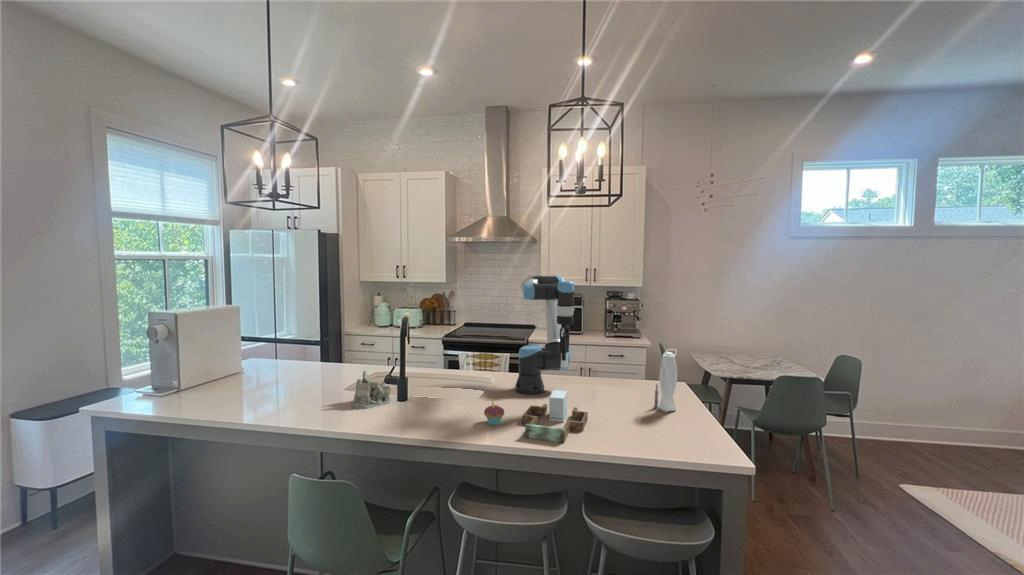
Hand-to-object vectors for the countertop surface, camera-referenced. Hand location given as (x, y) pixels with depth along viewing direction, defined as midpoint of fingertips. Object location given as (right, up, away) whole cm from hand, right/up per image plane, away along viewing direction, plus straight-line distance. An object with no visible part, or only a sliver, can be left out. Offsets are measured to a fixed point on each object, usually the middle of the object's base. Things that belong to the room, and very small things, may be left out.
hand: (564, 366), depth 196 cm
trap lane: (-7, -21, -20) cm, 29 cm away
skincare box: (-4, -20, -10) cm, 23 cm away
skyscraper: (+47, -20, +1) cm, 51 cm away
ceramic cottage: (-90, -19, +6) cm, 92 cm away
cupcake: (-31, -21, -17) cm, 41 cm away
